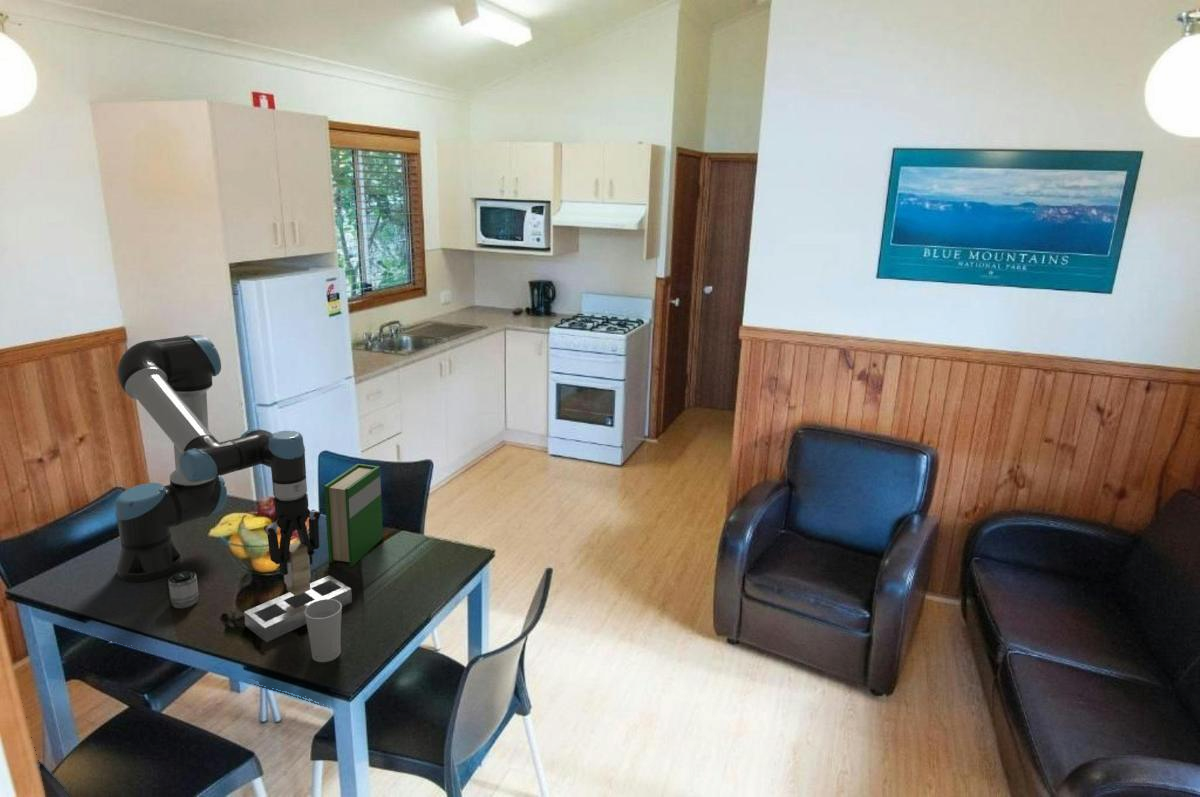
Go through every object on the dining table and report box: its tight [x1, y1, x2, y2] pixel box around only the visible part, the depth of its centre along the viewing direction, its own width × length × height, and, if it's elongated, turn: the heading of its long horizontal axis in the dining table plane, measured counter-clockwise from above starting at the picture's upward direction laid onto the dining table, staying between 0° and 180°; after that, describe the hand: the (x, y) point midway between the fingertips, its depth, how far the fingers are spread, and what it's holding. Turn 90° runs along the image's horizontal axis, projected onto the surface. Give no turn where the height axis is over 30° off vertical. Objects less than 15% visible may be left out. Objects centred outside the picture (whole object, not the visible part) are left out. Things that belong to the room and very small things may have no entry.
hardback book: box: [323, 463, 384, 567], centre depth 207 cm, size 18×7×24 cm, turn 168°
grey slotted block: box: [243, 575, 353, 643], centre depth 178 cm, size 10×23×4 cm, turn 142°
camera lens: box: [167, 570, 199, 609], centre depth 179 cm, size 6×6×8 cm
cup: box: [305, 599, 343, 663], centre depth 162 cm, size 8×8×12 cm
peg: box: [285, 541, 311, 596], centre depth 175 cm, size 4×4×12 cm
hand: (297, 580), depth 176 cm, fingers closed on peg, 4 cm apart
